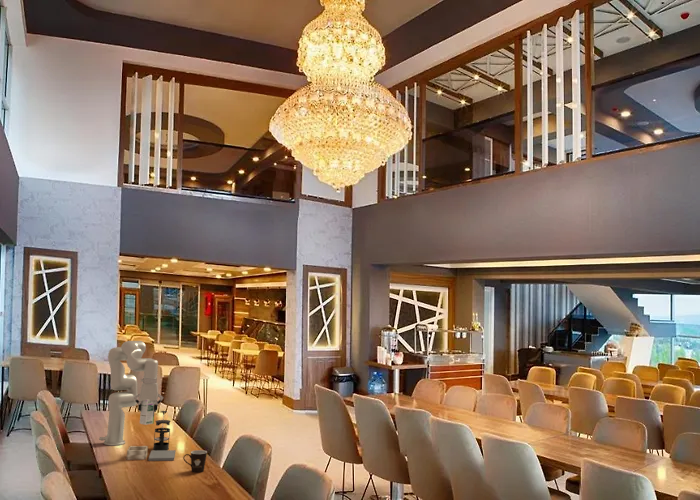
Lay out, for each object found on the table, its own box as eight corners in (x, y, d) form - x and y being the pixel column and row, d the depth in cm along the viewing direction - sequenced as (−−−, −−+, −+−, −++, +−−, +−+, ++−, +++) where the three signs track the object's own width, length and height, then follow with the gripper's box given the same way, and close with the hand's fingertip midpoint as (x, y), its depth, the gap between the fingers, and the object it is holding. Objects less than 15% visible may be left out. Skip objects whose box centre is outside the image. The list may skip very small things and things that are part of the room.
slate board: (148, 461, 328) (148, 458, 328) (151, 453, 346) (151, 450, 346) (174, 460, 332) (174, 457, 332) (175, 452, 349) (175, 450, 349)
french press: (169, 450, 353) (172, 412, 355) (153, 451, 349) (156, 412, 352) (168, 446, 364) (170, 409, 366) (152, 447, 360) (155, 409, 363)
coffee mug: (208, 470, 316) (210, 451, 317) (199, 474, 307) (201, 454, 309) (190, 467, 319) (192, 448, 320) (181, 471, 311) (182, 452, 312)
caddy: (126, 459, 329) (127, 450, 330) (128, 455, 339) (129, 446, 340) (145, 459, 332) (146, 450, 332) (147, 454, 342) (147, 446, 342)
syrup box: (145, 425, 334) (147, 399, 336) (139, 423, 337) (141, 398, 339) (153, 423, 339) (156, 398, 341) (147, 422, 342) (149, 397, 344)
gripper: (133, 381, 335) (131, 412, 333) (164, 382, 339) (162, 412, 337) (135, 380, 342) (132, 410, 341) (165, 380, 346) (163, 410, 344)
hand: (147, 411), depth 339 cm, fingers closed on syrup box, 8 cm apart
